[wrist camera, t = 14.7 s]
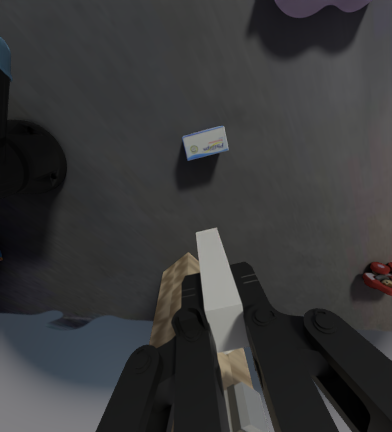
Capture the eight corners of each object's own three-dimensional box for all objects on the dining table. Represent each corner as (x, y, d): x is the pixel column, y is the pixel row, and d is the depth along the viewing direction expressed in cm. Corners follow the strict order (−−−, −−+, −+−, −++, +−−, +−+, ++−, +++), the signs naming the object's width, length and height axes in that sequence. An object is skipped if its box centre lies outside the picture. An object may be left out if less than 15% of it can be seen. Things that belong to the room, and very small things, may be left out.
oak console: (204, 305, 62) (221, 527, 27) (163, 272, 57) (118, 497, 22) (228, 288, 60) (282, 509, 25) (188, 252, 54) (183, 469, 19)
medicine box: (218, 126, 42) (224, 124, 34) (222, 147, 44) (229, 150, 36) (182, 136, 42) (181, 136, 34) (188, 156, 44) (187, 161, 36)
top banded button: (233, 405, 30) (240, 450, 26) (214, 394, 29) (218, 439, 25) (259, 393, 29) (271, 438, 25) (240, 380, 28) (250, 425, 23)
